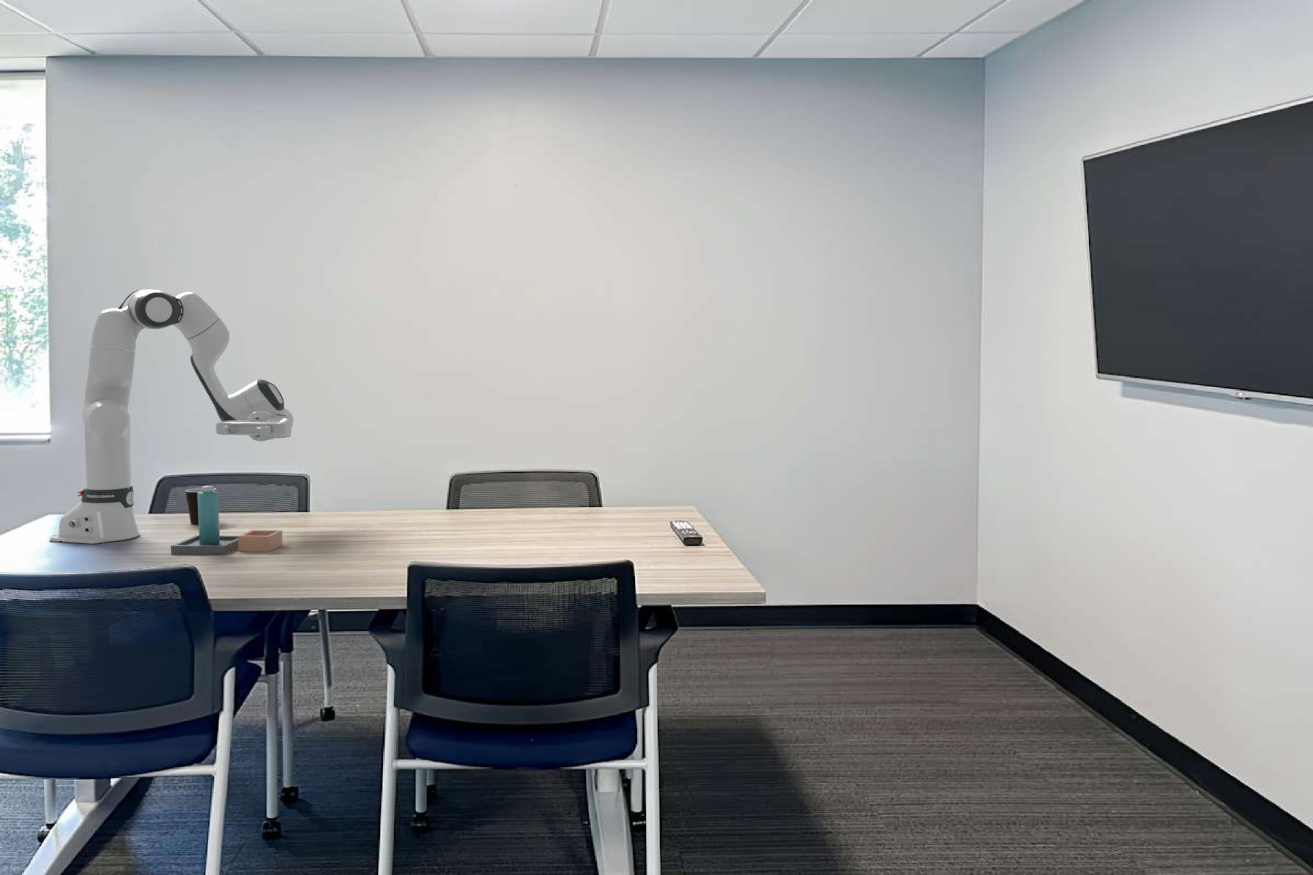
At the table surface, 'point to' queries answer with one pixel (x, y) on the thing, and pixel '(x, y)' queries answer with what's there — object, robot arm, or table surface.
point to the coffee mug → (193, 504)
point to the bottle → (208, 516)
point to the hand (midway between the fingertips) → (242, 430)
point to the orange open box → (260, 540)
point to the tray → (205, 546)
